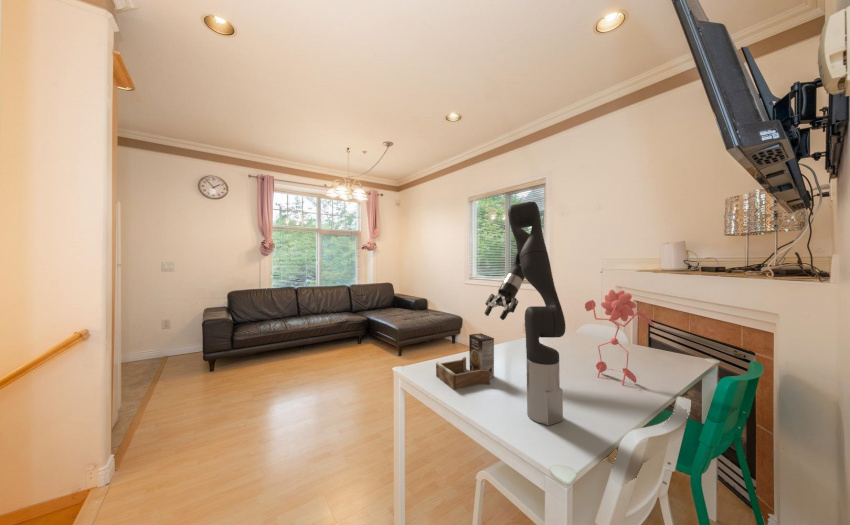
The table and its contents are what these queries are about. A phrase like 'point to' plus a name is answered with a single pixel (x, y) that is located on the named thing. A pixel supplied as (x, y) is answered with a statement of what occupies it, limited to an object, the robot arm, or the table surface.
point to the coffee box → (481, 353)
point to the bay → (463, 379)
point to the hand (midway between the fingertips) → (493, 316)
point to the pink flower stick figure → (617, 309)
